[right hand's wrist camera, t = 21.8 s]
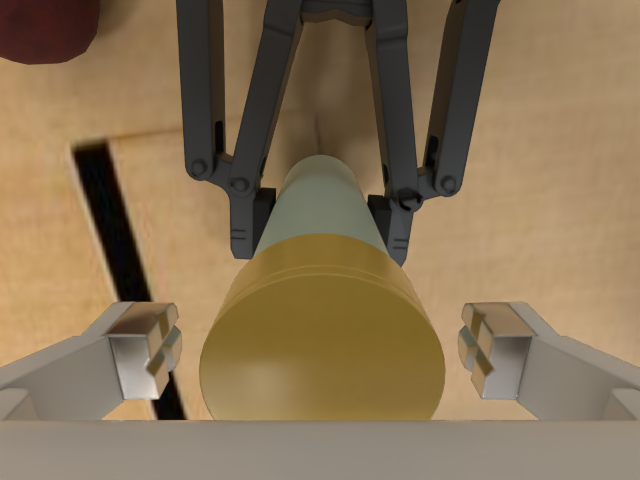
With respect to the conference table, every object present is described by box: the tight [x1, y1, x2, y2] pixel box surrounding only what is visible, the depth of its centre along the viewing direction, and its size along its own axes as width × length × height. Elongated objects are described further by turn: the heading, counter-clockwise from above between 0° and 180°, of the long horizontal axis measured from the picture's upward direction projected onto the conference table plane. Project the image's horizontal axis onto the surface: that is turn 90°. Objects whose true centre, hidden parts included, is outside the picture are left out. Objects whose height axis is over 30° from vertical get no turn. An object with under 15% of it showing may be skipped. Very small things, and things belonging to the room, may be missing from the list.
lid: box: [199, 233, 445, 420], centre depth 9 cm, size 5×5×2 cm
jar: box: [253, 155, 390, 257], centre depth 16 cm, size 5×5×16 cm
